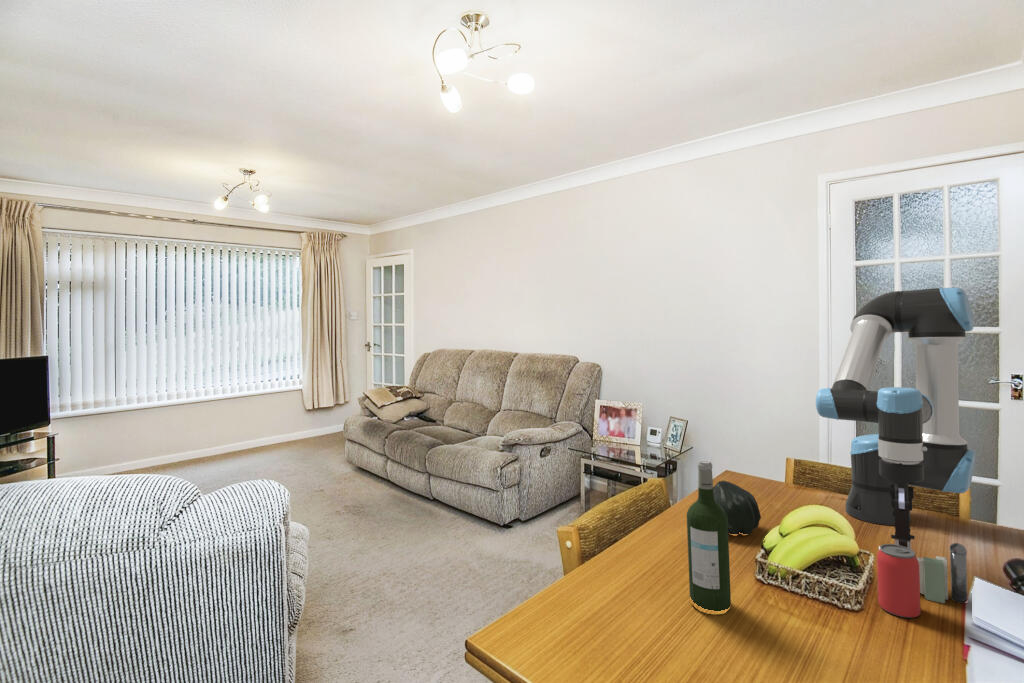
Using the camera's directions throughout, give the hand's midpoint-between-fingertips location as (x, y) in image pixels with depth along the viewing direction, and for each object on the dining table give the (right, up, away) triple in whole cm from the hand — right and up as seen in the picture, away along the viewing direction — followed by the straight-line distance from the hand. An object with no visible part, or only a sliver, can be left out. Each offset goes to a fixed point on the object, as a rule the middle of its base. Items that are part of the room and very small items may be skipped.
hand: (903, 569), depth 104 cm
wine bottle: (-43, -6, -4) cm, 44 cm away
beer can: (-8, -4, -8) cm, 12 cm away
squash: (-23, -4, +31) cm, 39 cm away
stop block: (+2, -4, -5) cm, 7 cm away
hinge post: (+6, -3, -6) cm, 9 cm away
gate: (0, -4, -2) cm, 4 cm away
